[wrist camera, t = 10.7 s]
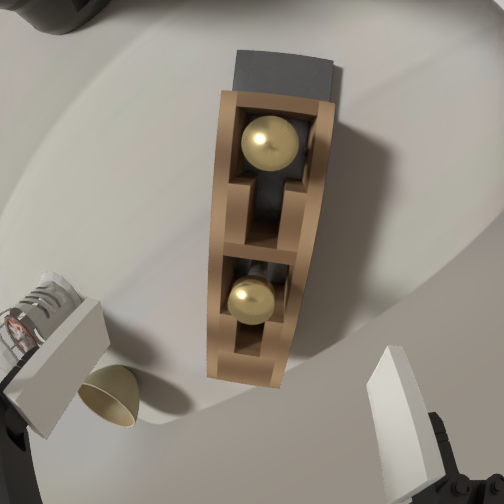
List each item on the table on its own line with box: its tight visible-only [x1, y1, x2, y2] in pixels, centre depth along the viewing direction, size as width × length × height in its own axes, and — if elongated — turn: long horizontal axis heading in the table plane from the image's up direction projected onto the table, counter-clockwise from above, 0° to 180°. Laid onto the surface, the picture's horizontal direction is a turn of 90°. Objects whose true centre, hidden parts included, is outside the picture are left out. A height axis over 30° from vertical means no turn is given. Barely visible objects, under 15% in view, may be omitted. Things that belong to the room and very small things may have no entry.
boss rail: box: [228, 50, 333, 325], centre depth 20 cm, size 26×8×10 cm, turn 174°
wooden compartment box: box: [207, 90, 336, 388], centre depth 22 cm, size 24×7×6 cm, turn 174°
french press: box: [0, 272, 82, 376], centre depth 22 cm, size 10×12×25 cm
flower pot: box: [77, 365, 139, 428], centre depth 34 cm, size 10×10×7 cm
